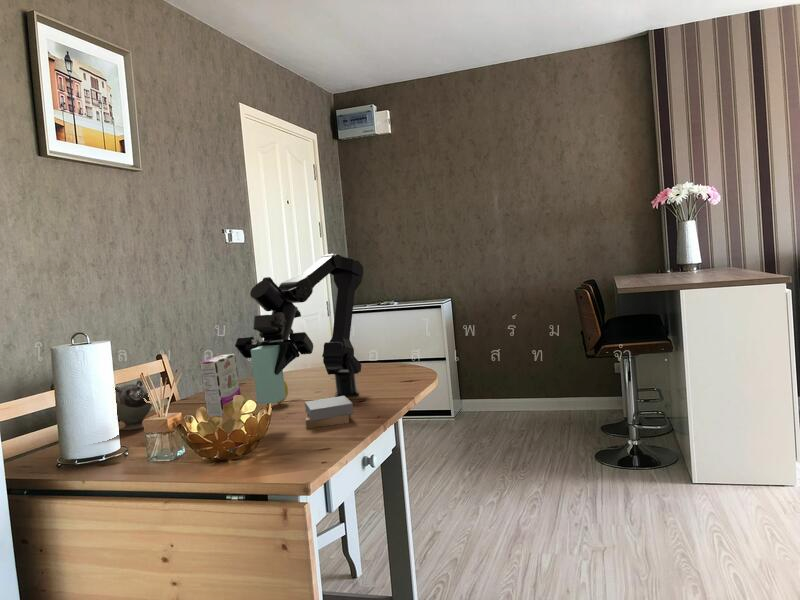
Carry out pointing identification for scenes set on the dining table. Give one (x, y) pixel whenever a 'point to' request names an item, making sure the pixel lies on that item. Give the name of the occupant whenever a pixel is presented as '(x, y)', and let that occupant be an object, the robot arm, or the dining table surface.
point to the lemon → (285, 392)
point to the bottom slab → (326, 421)
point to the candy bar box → (219, 382)
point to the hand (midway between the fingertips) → (265, 374)
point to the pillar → (267, 374)
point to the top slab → (329, 407)
